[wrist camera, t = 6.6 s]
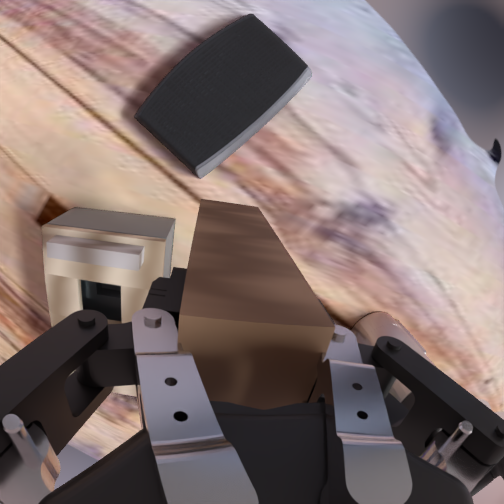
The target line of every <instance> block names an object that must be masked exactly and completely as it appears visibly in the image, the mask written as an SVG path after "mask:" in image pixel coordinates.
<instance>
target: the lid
mask: <svg viewBox="0 0 504 504" xmlns="http://www.w3.org/2000/svg"><path fill="white" fill-rule="evenodd" d="M165 247H166V239H163V238H155V237H147V236H139V235H131V234H123V233H115V232H107V231H99V230H91V229H83V228H75V227H67V226H59V225H51V224H45V225H43V226H42V249H43V263H44V275H45V284H46V293H47V300H48V308H49V314H50V320H51V326H52V327H53V326H55V325H56V324H57V323H59V322H60V321H62V320H63V319H65V318H66V317H67V316H69V315H70V314H72V313H74V312H76V311H79V310H83V305H82V292H81V280H87V281H93V282H99V283H106V284H112V285H119V286H121V315H122V322H121V321H115V320H109V319H107V320H108V324H122V323H127V322H131V321H132V315H133V314H134V313H135V312H136V311H138V310H141V309H142V308H143V306H144V303H145V300H146V297H147V295H148V292H149V290H150V287H151V284H152V282H153V281H154V280H156V279H157V278H159V277H163V272H164V259H165ZM73 372H74V371H73ZM73 372H72V373H73ZM72 373H71V374H72ZM71 374H70V375H71ZM70 375H69V376H70ZM69 376H68V377H69ZM112 392H113V393H119V394H124V395H130V396H136V389H135V385H127V386H114V388H113V390H112ZM136 397H137V396H136Z"/></svg>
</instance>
